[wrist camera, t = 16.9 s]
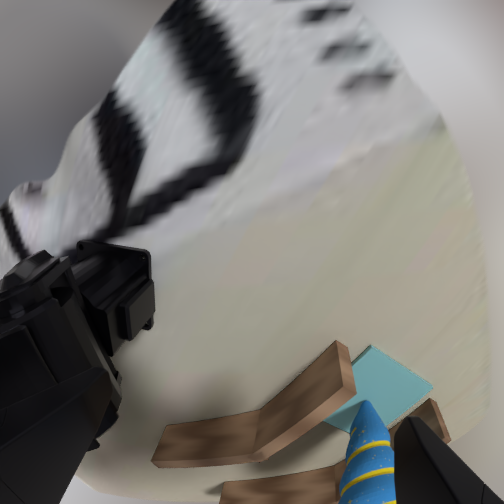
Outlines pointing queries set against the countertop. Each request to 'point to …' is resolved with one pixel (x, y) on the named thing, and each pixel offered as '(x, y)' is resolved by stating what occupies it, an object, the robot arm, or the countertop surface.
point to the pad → (380, 389)
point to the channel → (278, 436)
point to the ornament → (368, 461)
